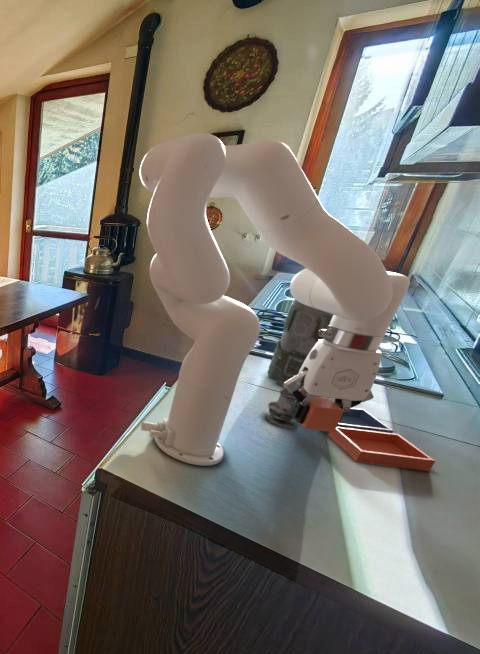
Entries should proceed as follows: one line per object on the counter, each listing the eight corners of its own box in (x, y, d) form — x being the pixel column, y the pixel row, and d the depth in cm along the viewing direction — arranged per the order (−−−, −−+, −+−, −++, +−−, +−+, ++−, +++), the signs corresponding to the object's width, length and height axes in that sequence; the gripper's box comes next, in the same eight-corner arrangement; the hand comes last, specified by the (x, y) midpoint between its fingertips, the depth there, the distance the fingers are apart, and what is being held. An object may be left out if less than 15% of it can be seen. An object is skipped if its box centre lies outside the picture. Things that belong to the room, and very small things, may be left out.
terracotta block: (304, 428, 77) (314, 406, 75) (291, 415, 81) (300, 394, 79) (333, 432, 76) (344, 410, 74) (318, 419, 80) (328, 398, 78)
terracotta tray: (355, 461, 78) (361, 451, 77) (327, 435, 86) (332, 425, 85) (429, 471, 75) (435, 461, 74) (393, 443, 84) (398, 433, 83)
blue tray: (324, 432, 87) (328, 423, 86) (301, 411, 95) (305, 402, 94) (389, 440, 85) (394, 430, 84) (359, 418, 93) (364, 409, 92)
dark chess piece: (300, 430, 88) (319, 382, 83) (271, 426, 89) (288, 379, 84) (286, 416, 93) (303, 371, 88) (258, 413, 94) (274, 368, 89)
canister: (259, 381, 110) (293, 284, 99) (273, 366, 120) (306, 276, 109) (332, 403, 99) (379, 296, 88) (341, 385, 109) (385, 286, 98)
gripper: (310, 339, 70) (274, 425, 77) (423, 352, 66) (374, 440, 73) (288, 326, 76) (257, 406, 83) (390, 337, 73) (348, 419, 80)
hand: (312, 421), depth 78 cm, fingers closed on terracotta block, 5 cm apart
